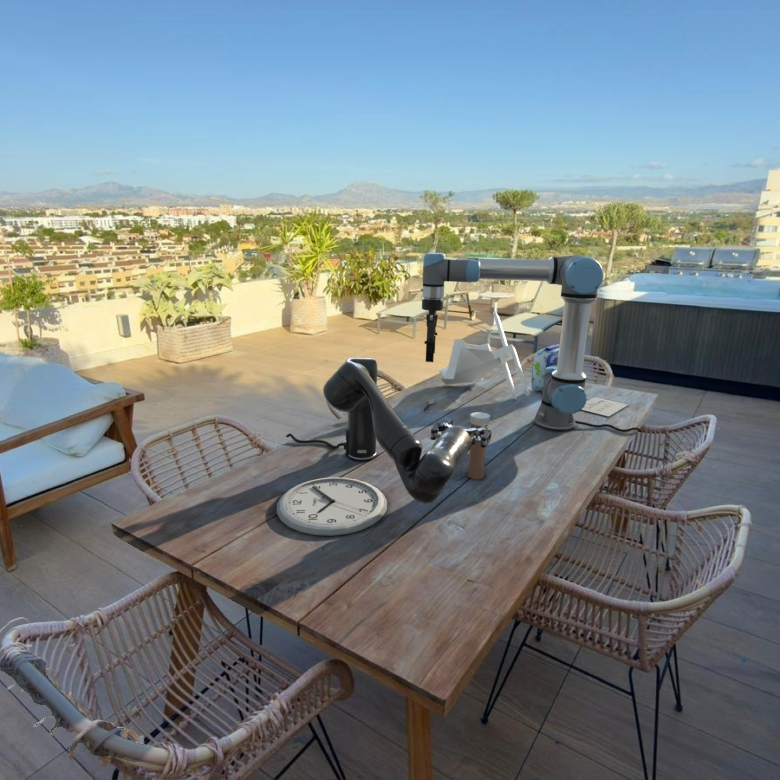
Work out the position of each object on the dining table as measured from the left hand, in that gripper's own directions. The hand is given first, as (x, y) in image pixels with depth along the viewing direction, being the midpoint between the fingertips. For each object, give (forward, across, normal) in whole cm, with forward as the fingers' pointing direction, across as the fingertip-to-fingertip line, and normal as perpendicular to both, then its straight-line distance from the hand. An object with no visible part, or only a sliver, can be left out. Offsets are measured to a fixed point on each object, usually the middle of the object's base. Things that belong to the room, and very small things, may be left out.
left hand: (467, 425), depth 135 cm
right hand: (+52, -26, +4) cm, 59 cm away
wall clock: (-12, -34, -24) cm, 43 cm away
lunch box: (+126, +12, -24) cm, 129 cm away
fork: (+78, -34, -24) cm, 88 cm away
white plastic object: (+106, -19, -24) cm, 111 cm away
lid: (+21, -1, -5) cm, 22 cm away
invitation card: (+108, +34, -24) cm, 116 cm away
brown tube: (+21, -1, -24) cm, 32 cm away
